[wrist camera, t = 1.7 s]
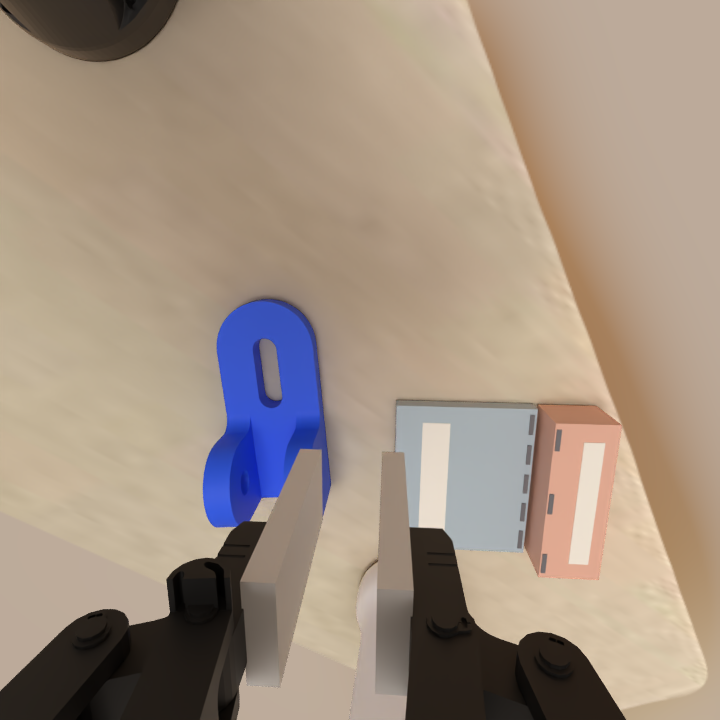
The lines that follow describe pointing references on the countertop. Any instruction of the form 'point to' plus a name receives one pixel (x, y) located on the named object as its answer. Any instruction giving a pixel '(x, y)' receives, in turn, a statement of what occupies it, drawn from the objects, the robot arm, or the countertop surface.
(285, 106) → the countertop surface
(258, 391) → the bracket
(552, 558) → the stub
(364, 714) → the bottle
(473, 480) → the ticket
